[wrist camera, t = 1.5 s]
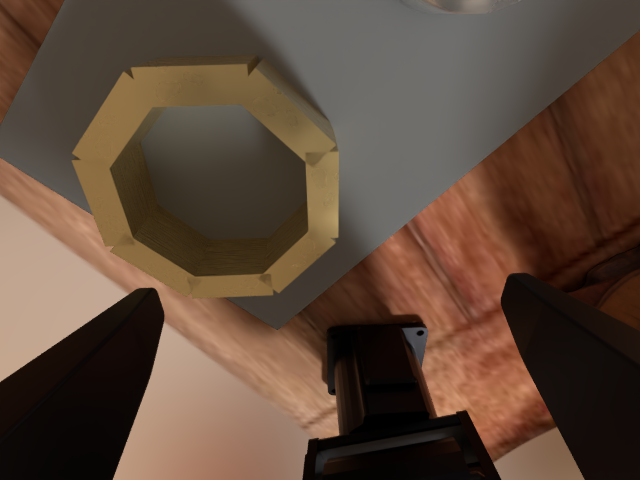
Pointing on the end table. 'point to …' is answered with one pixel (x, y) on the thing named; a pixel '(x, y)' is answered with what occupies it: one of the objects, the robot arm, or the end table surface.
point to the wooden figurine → (615, 287)
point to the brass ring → (169, 231)
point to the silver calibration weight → (457, 6)
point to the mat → (323, 93)
